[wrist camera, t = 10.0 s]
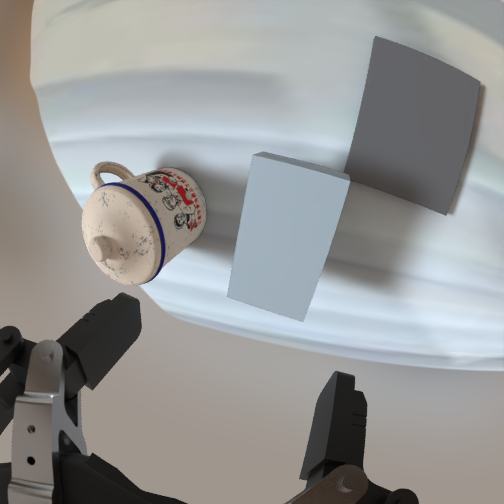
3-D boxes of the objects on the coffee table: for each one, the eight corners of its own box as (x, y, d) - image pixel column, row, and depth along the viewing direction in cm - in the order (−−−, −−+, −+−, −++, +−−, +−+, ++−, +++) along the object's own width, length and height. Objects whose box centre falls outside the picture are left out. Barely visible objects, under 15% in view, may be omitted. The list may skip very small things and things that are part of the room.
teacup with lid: (227, 215, 28) (163, 271, 18) (173, 260, 32) (109, 318, 22) (155, 127, 26) (67, 139, 16) (112, 182, 30) (35, 213, 20)
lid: (263, 151, 20) (252, 155, 17) (349, 174, 18) (350, 181, 16) (237, 280, 25) (227, 296, 22) (307, 303, 24) (303, 321, 21)
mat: (373, 39, 17) (375, 35, 16) (475, 82, 15) (480, 81, 15) (343, 176, 23) (343, 178, 22) (442, 212, 21) (446, 215, 21)
